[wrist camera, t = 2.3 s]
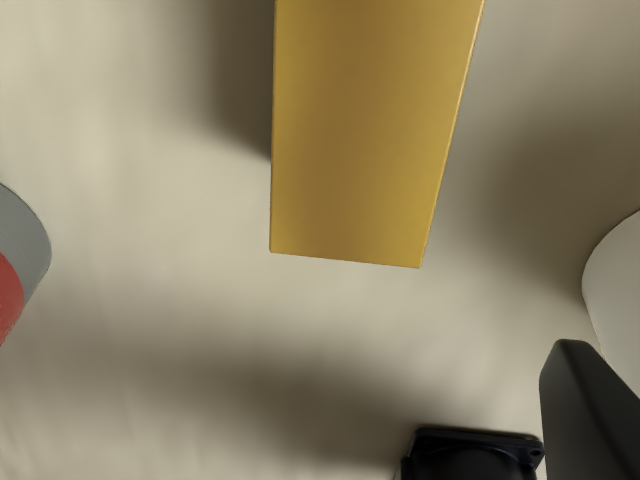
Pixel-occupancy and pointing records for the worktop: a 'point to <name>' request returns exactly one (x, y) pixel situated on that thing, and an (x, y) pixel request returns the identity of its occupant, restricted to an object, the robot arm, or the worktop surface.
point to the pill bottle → (617, 298)
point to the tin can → (19, 257)
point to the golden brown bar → (364, 123)
